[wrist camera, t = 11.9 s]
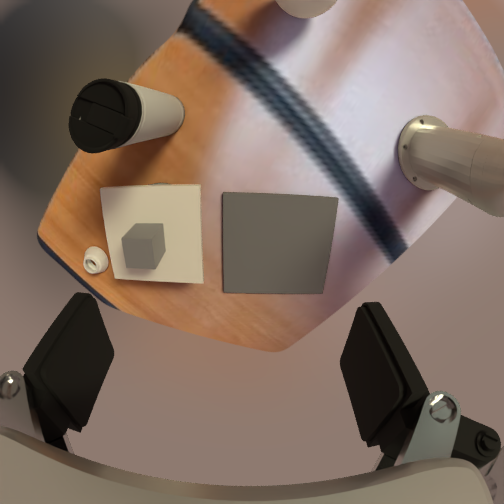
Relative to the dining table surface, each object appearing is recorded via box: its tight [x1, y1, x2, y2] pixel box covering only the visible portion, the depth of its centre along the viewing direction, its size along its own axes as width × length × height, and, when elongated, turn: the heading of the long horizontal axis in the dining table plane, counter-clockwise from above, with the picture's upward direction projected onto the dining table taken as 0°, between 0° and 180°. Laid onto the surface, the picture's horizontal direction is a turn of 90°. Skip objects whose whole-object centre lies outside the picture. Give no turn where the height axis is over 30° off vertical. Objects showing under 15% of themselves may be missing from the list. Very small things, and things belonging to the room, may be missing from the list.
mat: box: [223, 192, 338, 294], centre depth 43 cm, size 17×17×1 cm
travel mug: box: [69, 79, 185, 153], centre depth 25 cm, size 6×7×20 cm
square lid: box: [100, 184, 204, 283], centre depth 34 cm, size 14×14×6 cm
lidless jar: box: [83, 246, 109, 274], centre depth 43 cm, size 5×3×5 cm
